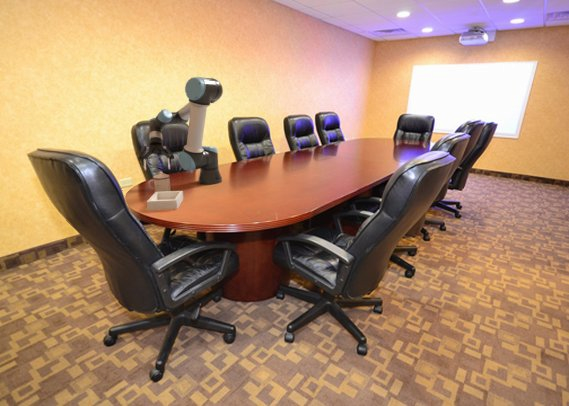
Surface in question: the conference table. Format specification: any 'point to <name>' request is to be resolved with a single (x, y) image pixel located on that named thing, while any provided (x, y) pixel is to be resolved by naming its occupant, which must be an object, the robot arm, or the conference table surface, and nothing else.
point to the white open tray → (165, 200)
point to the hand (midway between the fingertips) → (157, 168)
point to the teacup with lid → (161, 182)
